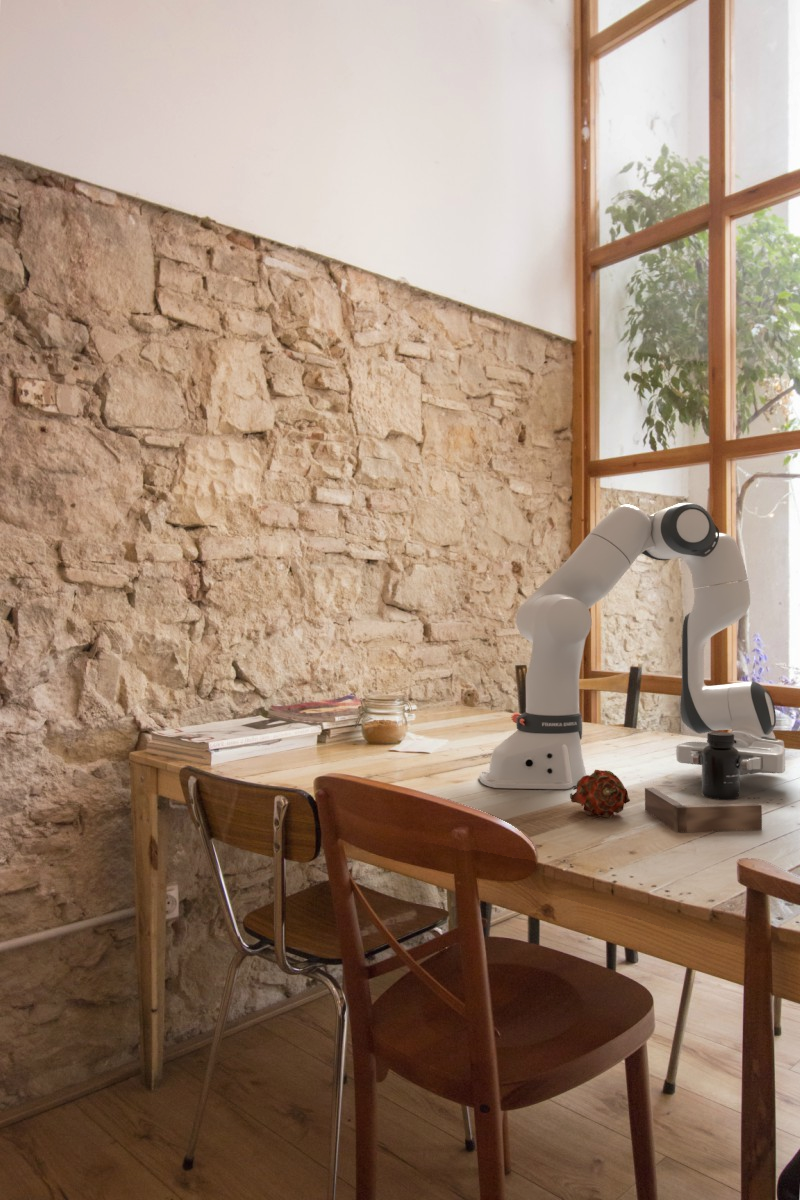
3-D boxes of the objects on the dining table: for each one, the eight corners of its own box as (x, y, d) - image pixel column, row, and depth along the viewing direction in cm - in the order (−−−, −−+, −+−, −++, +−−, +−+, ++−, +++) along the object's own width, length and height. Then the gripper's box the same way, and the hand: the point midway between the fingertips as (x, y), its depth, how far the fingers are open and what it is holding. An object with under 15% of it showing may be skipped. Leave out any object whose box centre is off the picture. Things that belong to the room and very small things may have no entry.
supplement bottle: (736, 802, 159) (735, 737, 159) (698, 798, 162) (697, 734, 162) (743, 794, 165) (742, 732, 165) (706, 791, 168) (705, 729, 168)
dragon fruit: (620, 833, 144) (579, 827, 155) (650, 798, 148) (607, 795, 158) (592, 794, 143) (552, 791, 154) (622, 760, 147) (581, 759, 157)
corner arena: (677, 832, 138) (677, 807, 138) (645, 810, 153) (644, 787, 153) (761, 830, 139) (761, 805, 139) (721, 808, 154) (721, 785, 154)
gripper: (687, 732, 180) (665, 741, 169) (792, 741, 168) (775, 751, 157) (687, 762, 180) (665, 773, 169) (792, 773, 168) (775, 785, 157)
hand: (719, 762), depth 163 cm, fingers open, 8 cm apart
